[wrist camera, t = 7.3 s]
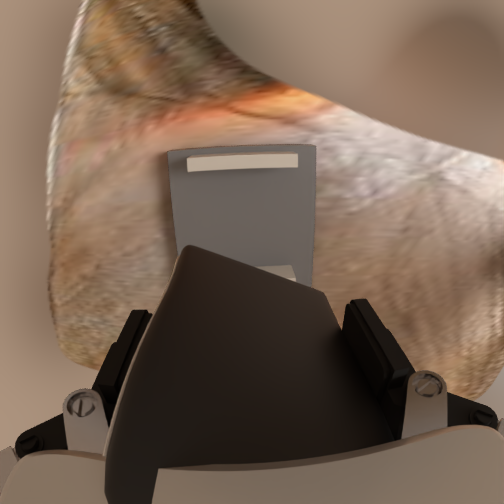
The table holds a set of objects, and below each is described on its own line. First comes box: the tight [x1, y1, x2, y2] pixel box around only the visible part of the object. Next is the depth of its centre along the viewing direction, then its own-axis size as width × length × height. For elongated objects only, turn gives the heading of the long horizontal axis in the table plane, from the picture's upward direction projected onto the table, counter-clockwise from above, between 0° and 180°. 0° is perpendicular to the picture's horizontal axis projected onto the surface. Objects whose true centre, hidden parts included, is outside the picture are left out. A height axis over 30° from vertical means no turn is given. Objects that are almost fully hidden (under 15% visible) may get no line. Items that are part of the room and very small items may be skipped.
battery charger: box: [103, 245, 395, 504], centre depth 8 cm, size 7×4×11 cm, turn 67°
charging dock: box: [167, 144, 316, 287], centre depth 27 cm, size 12×22×4 cm, turn 2°
